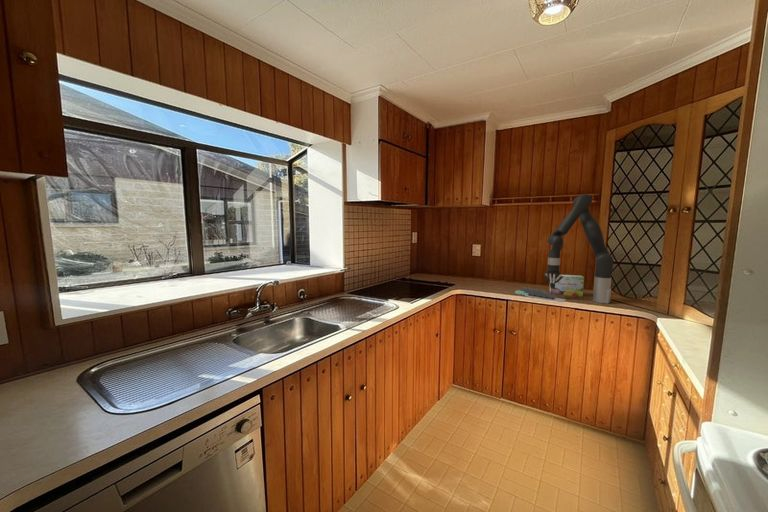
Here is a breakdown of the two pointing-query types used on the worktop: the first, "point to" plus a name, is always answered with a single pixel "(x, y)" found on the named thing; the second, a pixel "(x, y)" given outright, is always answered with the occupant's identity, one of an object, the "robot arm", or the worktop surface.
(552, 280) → the robot arm
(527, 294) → the domino
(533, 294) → the domino
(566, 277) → the snack box
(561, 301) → the mat
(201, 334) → the worktop surface
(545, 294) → the domino
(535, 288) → the domino
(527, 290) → the domino
